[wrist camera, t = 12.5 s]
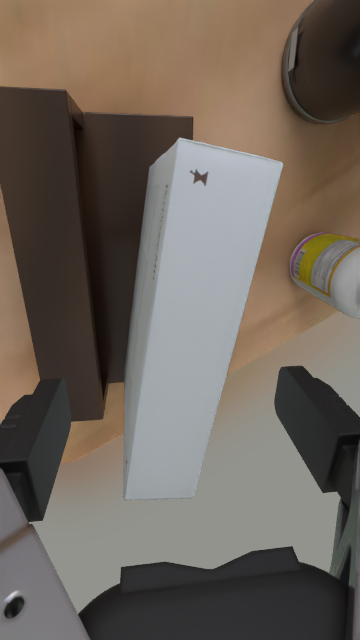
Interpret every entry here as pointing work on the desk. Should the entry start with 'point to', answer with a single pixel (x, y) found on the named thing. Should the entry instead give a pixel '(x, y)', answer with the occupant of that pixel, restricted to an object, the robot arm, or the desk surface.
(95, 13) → the desk surface
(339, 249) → the supplement bottle
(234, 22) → the desk surface
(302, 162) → the desk surface
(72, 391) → the metal step block
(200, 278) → the skincare box
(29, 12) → the desk surface
